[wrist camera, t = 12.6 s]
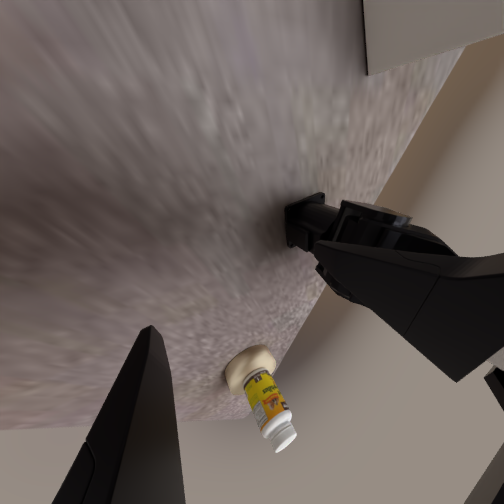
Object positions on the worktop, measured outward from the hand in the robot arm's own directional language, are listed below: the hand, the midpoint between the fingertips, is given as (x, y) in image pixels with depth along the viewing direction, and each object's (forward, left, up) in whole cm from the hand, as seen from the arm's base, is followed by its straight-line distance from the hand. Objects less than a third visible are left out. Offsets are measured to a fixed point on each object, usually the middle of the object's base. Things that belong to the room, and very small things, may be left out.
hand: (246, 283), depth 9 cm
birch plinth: (+1, +33, -12) cm, 35 cm away
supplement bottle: (+1, +33, -9) cm, 34 cm away
